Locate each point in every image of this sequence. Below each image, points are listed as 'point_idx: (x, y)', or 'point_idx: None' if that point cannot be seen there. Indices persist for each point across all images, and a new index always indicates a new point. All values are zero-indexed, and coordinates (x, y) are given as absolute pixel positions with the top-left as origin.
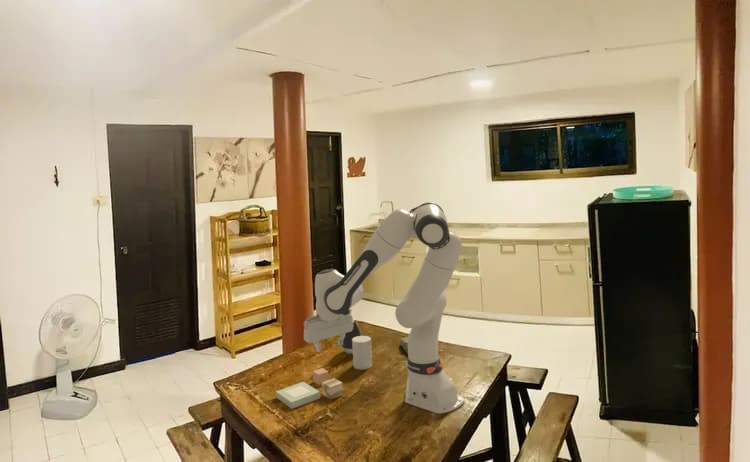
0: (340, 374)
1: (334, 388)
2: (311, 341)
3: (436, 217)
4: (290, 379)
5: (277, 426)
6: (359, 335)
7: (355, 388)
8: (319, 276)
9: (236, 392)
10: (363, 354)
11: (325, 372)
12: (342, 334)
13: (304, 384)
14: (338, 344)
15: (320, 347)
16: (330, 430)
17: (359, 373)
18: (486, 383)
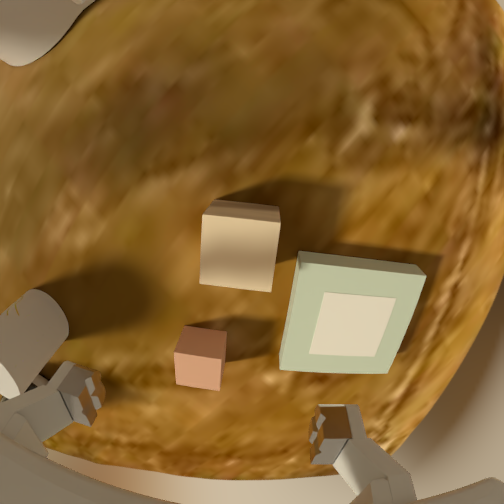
0: (123, 332)
1: (254, 215)
2: (496, 490)
3: None
4: (266, 413)
5: (500, 210)
6: (4, 400)
7: (141, 205)
8: None
9: (399, 429)
10: (19, 324)
11: (187, 353)
12: (14, 433)
13: (293, 352)
14: (99, 389)
15: (343, 437)
16: (430, 40)
17: (71, 287)
18: None
